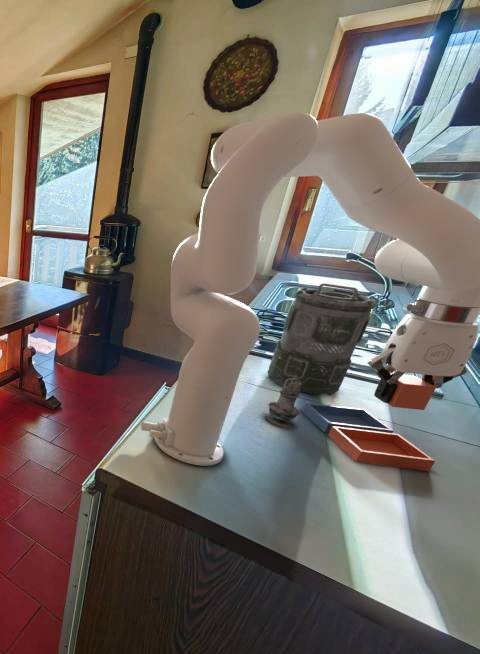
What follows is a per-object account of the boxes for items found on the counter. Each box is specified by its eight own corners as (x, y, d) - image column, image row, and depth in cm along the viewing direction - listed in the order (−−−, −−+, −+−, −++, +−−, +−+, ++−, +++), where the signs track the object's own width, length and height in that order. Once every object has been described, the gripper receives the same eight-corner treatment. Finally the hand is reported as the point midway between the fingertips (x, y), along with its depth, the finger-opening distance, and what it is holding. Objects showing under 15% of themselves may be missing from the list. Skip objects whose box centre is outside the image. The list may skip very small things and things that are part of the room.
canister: (259, 381, 110) (293, 284, 99) (273, 366, 120) (306, 276, 109) (332, 403, 99) (379, 296, 88) (341, 385, 109) (385, 286, 98)
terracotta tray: (355, 461, 78) (361, 451, 77) (327, 435, 86) (332, 425, 85) (429, 471, 75) (435, 461, 74) (393, 443, 84) (398, 433, 83)
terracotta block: (392, 407, 74) (404, 383, 72) (373, 394, 79) (384, 372, 77) (424, 410, 73) (436, 386, 71) (403, 397, 78) (414, 375, 76)
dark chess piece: (300, 430, 88) (319, 382, 83) (271, 426, 89) (288, 379, 84) (286, 416, 93) (303, 371, 88) (258, 413, 94) (274, 368, 89)
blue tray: (324, 432, 87) (328, 423, 86) (301, 411, 95) (305, 402, 94) (389, 440, 85) (394, 430, 84) (359, 418, 93) (364, 409, 92)
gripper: (402, 314, 67) (360, 405, 74) (527, 322, 64) (470, 416, 71) (371, 303, 74) (335, 387, 81) (482, 309, 71) (435, 397, 78)
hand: (399, 400), depth 76 cm, fingers closed on terracotta block, 5 cm apart
